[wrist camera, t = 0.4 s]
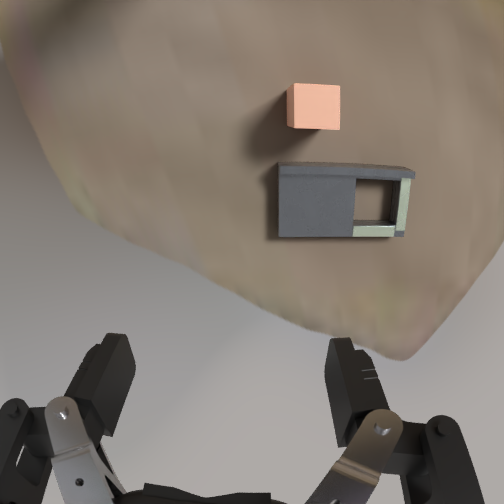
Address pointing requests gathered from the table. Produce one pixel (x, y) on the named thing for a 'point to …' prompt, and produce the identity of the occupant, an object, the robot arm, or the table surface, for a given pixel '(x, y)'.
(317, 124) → the salmon pink block
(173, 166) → the table surface
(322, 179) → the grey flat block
